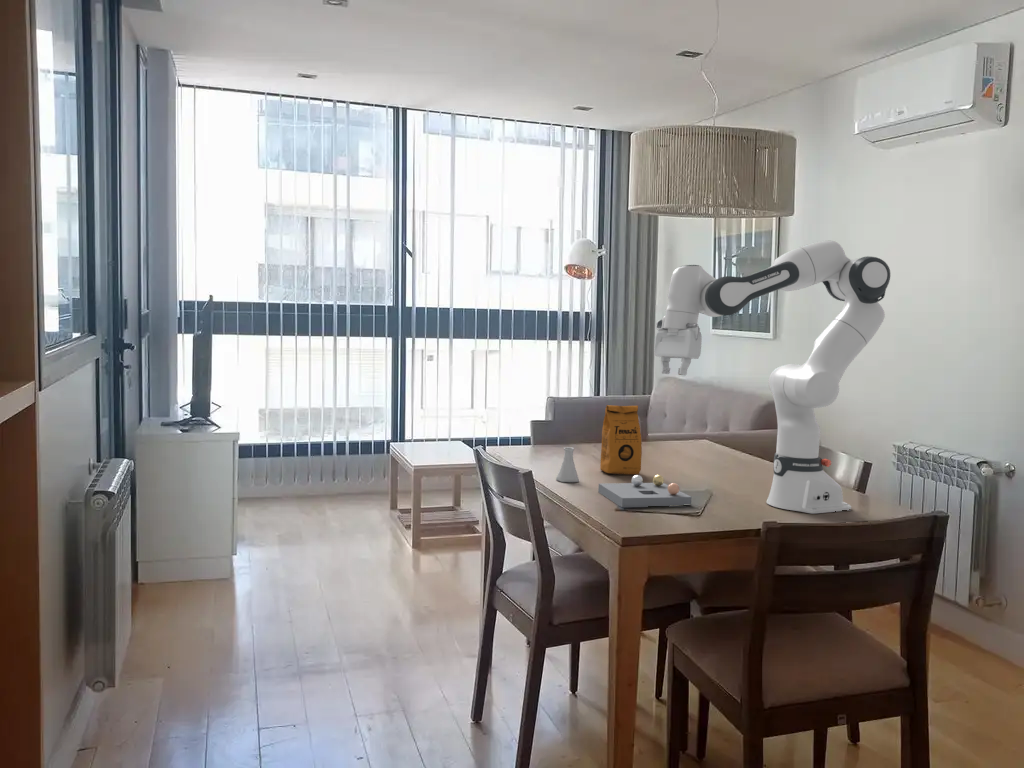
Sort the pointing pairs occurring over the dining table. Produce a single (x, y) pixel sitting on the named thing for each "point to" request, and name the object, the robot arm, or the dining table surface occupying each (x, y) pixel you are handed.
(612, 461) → the coffee package
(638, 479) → the steel ball
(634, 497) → the seat plate
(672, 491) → the terracotta ball
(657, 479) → the brass ball
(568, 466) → the flask
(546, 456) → the dining table surface
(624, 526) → the dining table surface
